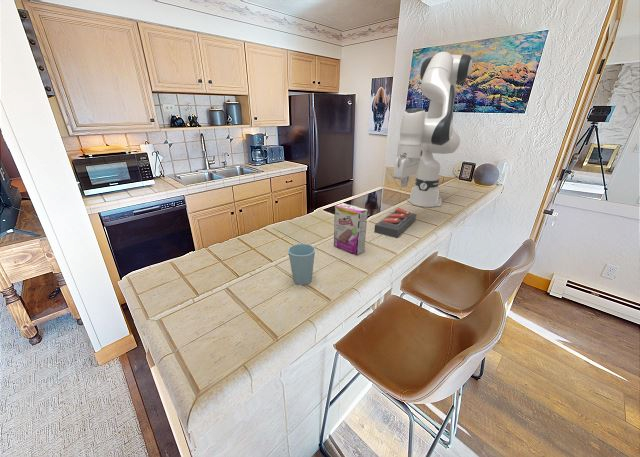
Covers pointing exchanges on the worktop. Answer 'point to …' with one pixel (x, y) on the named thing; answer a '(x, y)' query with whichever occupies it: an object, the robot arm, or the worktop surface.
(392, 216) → the rocker
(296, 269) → the cup
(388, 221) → the rocker
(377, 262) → the worktop surface
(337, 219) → the candy bar box
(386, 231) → the rocker switch panel
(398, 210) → the rocker
